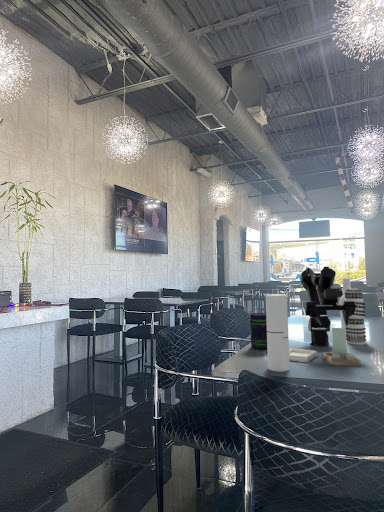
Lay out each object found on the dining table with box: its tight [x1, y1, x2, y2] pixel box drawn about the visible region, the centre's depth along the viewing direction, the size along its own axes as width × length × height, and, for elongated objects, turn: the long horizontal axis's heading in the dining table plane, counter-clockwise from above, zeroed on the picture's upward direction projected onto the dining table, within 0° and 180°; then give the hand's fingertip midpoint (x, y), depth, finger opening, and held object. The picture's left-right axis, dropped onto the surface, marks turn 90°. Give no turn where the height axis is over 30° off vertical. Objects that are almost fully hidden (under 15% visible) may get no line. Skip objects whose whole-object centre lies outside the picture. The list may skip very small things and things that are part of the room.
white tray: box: [289, 348, 318, 364], centre depth 133 cm, size 12×10×2 cm
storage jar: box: [249, 312, 267, 352], centre depth 153 cm, size 10×10×15 cm
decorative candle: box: [345, 288, 367, 346], centre depth 161 cm, size 9×9×25 cm
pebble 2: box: [346, 352, 356, 360], centre depth 122 cm, size 3×3×3 cm
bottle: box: [338, 277, 352, 338], centre depth 175 cm, size 8×8×30 cm
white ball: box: [331, 352, 340, 359], centre depth 123 cm, size 3×3×3 cm
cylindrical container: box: [265, 293, 291, 373], centre depth 119 cm, size 7×7×25 cm
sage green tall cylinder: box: [331, 327, 348, 360], centre depth 126 cm, size 5×5×11 cm
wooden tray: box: [321, 352, 362, 367], centre depth 126 cm, size 12×10×2 cm
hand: (334, 325), depth 132 cm, fingers open, 9 cm apart
